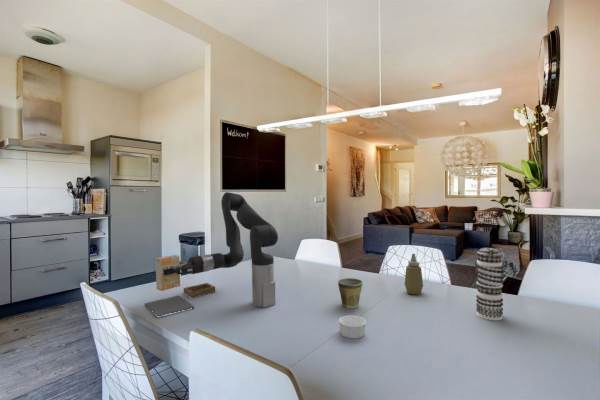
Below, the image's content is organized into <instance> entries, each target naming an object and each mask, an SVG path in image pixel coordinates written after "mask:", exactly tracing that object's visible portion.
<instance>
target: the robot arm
mask: <svg viewBox="0 0 600 400" xmlns="http://www.w3.org/2000/svg"><path fill="white" fill-rule="evenodd" d="M220 202H221V203H220V204H221V210H222V214H223V215H222V216H223V220H224V227H225V243H226V246H227V247H228V248H229V252H228V253H226V254H223V253H221V252H217V253H211V254H210V253H209V254H201V255H195V256H190V257H189V258H188V260H187V261H181V260H179V263H180V265H178V267H175V268H174V269H173V268H171V269H165V270H164V271H163V272H164V275H169V274H177V275H179V274H180V275H185V274H191V275H195V274H201V273H205V272H209V271H213V270H217V269H220V268H221V269H229V268H234V267H236V266H237V265H238V264H240V263H241V262H242V261H243V260H244V256H245V255H244V254H245V253H244V249H243V246H242V241H241V230H240V227H239V225H238V223H237V222H236V220H235V218H234V216H233V214H232V211H233V212H236V215H235V216H236V219H237V221H238V222H239V224H240V225H241V227H243V228H245V229H246V230H250V231H249V244H250V245H249V246H250V259H251V289H252V290H251V291H252V293H251V294H252V296H251V297H252V305H253V307H256V308H257V307H258V308H264V309H265V308H267V307H272V306H274V305H276V282H275V275H274V274H275V270H274V269H275V267H274V266H275V264H274V263H275V259H274V256H273V255H271V254H267V253H264V252H263V251H262V248H268V247H272V246H275V245H276V244H277V242H278V241H279V234H278V232H277V230H276V228H275V227H274V226H273V224H271V223H269V222H268V221H267V220H265V219H264V218H263V217H262V216H261V215H260V214H258V213H257V211H256V210H255V209H254V208H253V207H252V206H251V205H250V204H249V203H248V202H247V200H246V199H245V197H244V196H243V195H241V194H238V193H234V192H227V191H226V192H225V193H223V195H222V198H221V201H220Z"/></svg>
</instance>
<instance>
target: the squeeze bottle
mask: <svg viewBox="0 0 600 400" xmlns="http://www.w3.org/2000/svg"><path fill="white" fill-rule="evenodd" d="M407 264H408V265H407V266H406V267H405V274H404V277H405V278H404V286H405V290H406V292H407V293H408V294H410V295H420V294H421V293H422V290H423V287H424V282H423V273H422V267H421V266H420V262H419V261H417V256H416V254H415V253H412V254H411V258H410V260H409V261H408V262H407Z"/></svg>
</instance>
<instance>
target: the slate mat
mask: <svg viewBox="0 0 600 400" xmlns="http://www.w3.org/2000/svg"><path fill="white" fill-rule="evenodd" d="M145 305H146V306H147V307H148V308H149V309H150V310H151V311H153V313H155V314H156V315H157V316H162V315H165V314H169V313H174V312H178V311H182V310H187V309H190V308H194V309H195V305H193V304H192V303H190V302H188V301H187V300H186V299H184V298H183V297H181V296H180V295H175V296H170V297H166V298H162V299H157V300H153V301H149V302H145V303H144V306H145ZM146 306H145V307H146ZM147 307H146V308H147ZM148 308H147V309H148ZM149 309H148V310H149ZM150 310H149V311H150ZM151 311H150V312H151ZM187 311H188V310H187ZM153 313H152V314H153Z"/></svg>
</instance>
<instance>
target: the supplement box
mask: <svg viewBox="0 0 600 400" xmlns="http://www.w3.org/2000/svg"><path fill="white" fill-rule="evenodd" d="M179 261H180V255H177V254H172V255H166V256H161V257H155V282H156V283H155V285H156V287H155V288H156V290H157V291H160V292H163V291H167V290H170V289H174V288H177V287H180V286H181V274H179V275H177V274H169V275H164V272H163V271H164V270H165V269H171V268H173V269H174V268H175V267H178V265H180V263H179Z"/></svg>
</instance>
